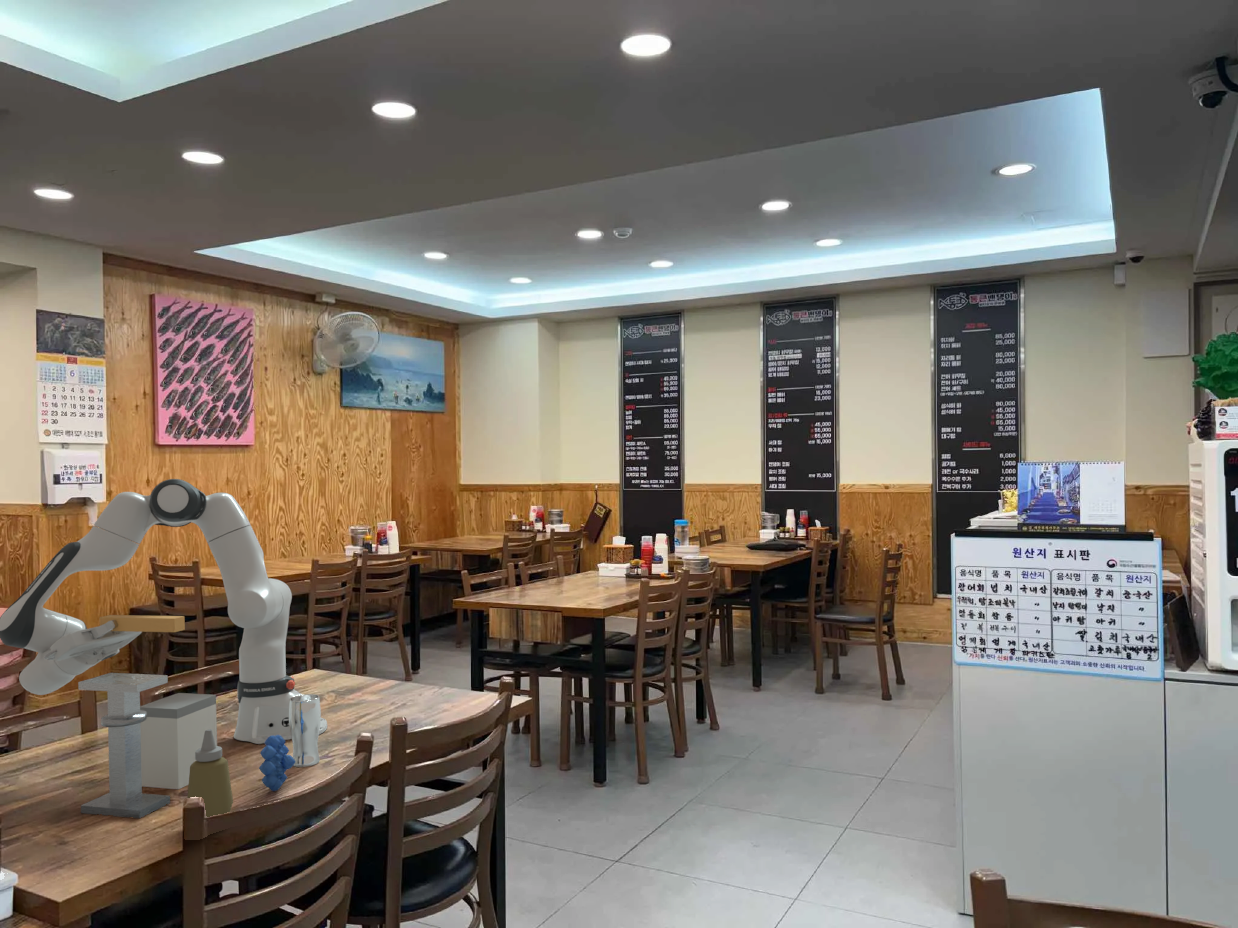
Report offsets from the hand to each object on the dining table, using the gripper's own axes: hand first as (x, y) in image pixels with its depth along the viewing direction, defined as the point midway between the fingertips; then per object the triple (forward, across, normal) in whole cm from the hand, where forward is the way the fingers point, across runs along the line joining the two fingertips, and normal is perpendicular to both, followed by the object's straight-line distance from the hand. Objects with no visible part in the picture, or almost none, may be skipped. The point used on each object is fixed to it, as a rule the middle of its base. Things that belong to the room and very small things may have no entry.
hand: (122, 621), depth 198 cm
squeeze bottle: (+17, -21, +50) cm, 56 cm away
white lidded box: (-5, 0, +37) cm, 37 cm away
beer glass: (+14, +14, +48) cm, 52 cm away
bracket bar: (+4, 0, +4) cm, 6 cm away
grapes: (+18, -3, +51) cm, 54 cm away
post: (-3, -17, +38) cm, 42 cm away
